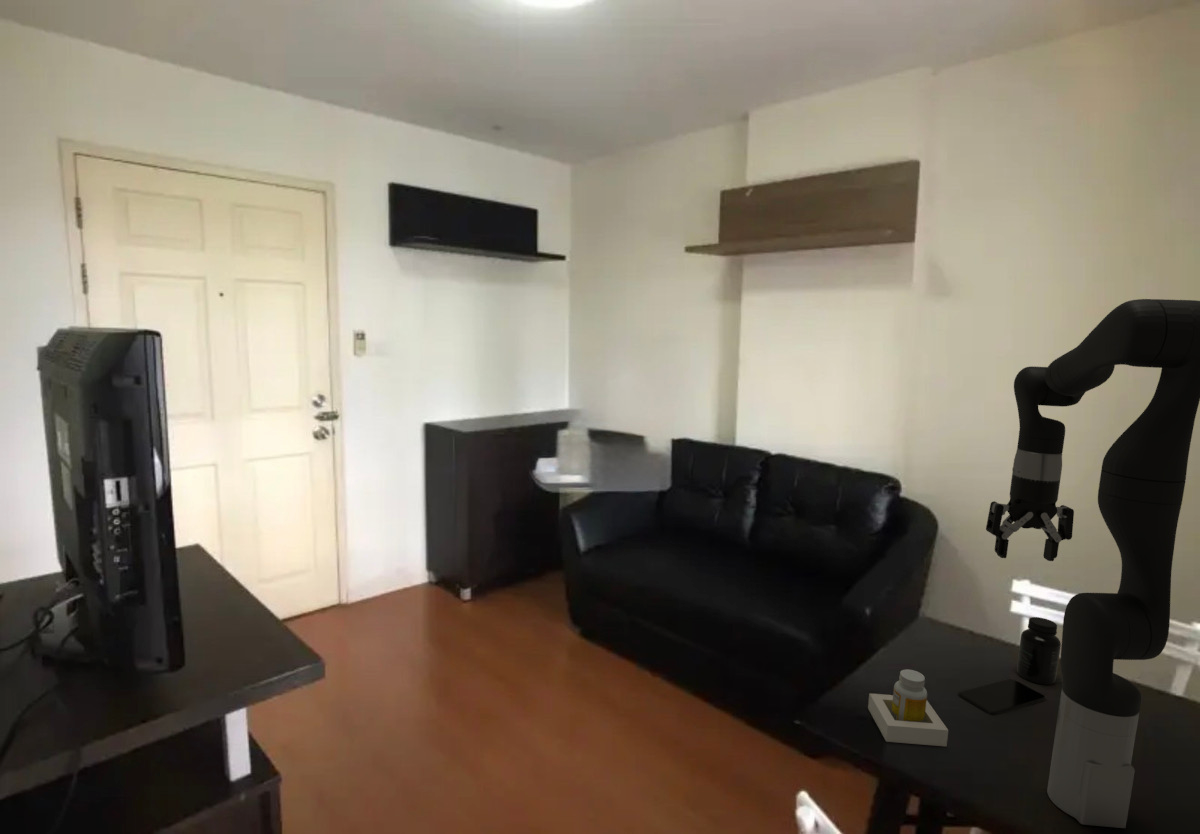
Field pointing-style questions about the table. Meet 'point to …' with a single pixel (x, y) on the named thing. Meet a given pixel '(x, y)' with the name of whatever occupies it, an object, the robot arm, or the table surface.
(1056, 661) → the supplement bottle
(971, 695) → the smartphone
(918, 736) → the socket plate
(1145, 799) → the table surface
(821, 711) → the table surface
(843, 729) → the table surface
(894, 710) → the supplement bottle
